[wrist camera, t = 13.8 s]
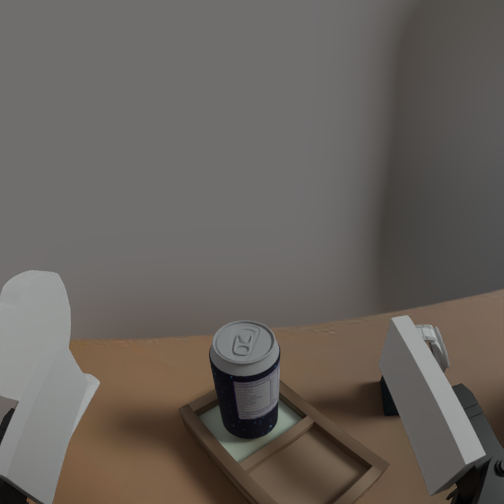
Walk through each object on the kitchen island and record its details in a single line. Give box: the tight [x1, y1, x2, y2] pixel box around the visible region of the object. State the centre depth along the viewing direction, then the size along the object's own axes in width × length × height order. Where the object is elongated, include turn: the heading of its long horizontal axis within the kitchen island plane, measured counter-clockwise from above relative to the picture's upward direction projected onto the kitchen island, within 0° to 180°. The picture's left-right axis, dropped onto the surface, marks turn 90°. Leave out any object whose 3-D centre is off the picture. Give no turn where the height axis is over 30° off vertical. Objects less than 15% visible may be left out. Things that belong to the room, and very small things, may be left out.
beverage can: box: [209, 320, 280, 439], centre depth 27 cm, size 6×6×12 cm
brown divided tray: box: [179, 379, 390, 504], centre depth 27 cm, size 11×19×4 cm, turn 38°
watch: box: [380, 324, 449, 416], centre depth 31 cm, size 6×8×11 cm
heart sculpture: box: [0, 270, 100, 438], centre depth 28 cm, size 16×5×18 cm, turn 173°
